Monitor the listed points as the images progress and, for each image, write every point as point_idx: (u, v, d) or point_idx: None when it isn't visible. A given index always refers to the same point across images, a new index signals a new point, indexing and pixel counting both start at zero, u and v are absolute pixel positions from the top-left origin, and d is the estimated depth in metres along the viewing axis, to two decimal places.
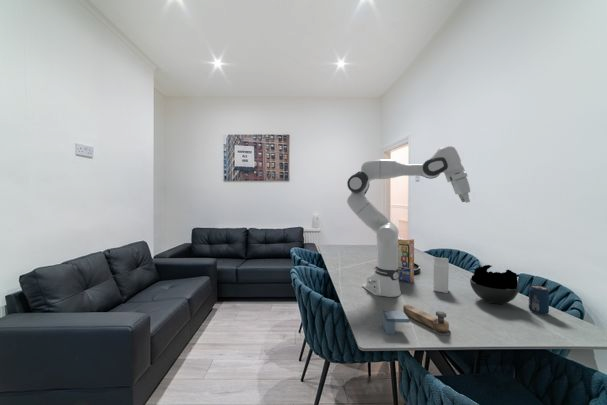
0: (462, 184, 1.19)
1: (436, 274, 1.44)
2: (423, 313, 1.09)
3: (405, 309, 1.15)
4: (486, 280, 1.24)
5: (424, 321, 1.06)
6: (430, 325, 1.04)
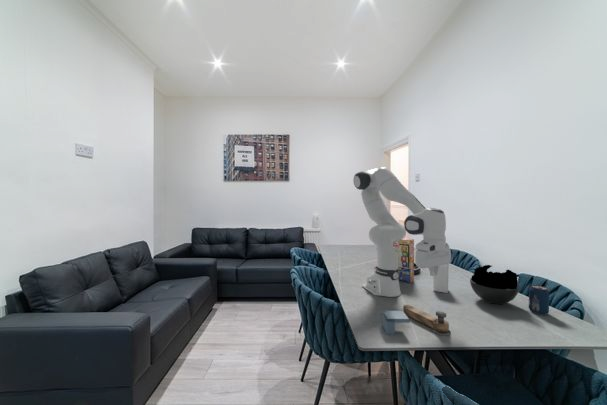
0: (418, 257, 1.08)
1: None
2: (423, 313, 1.09)
3: (405, 309, 1.15)
4: (486, 280, 1.24)
5: (424, 321, 1.06)
6: (430, 325, 1.04)
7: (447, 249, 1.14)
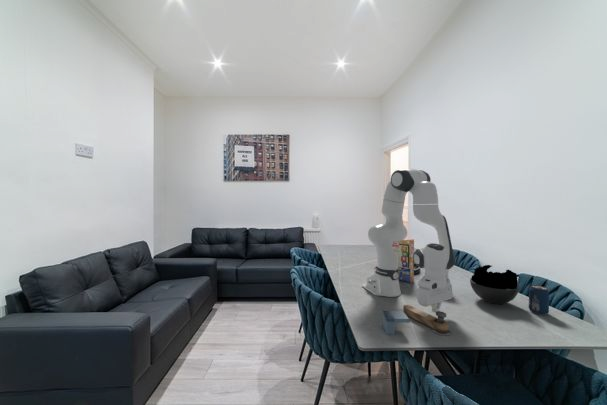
0: (420, 295, 1.08)
1: None
2: (423, 313, 1.09)
3: (405, 309, 1.15)
4: (486, 280, 1.24)
5: (424, 321, 1.06)
6: (430, 325, 1.04)
7: (448, 285, 1.14)
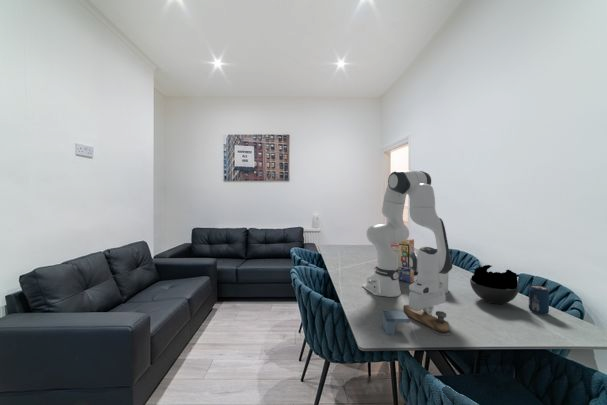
0: (411, 299, 1.07)
1: None
2: (423, 313, 1.09)
3: (405, 309, 1.15)
4: (486, 280, 1.24)
5: (424, 321, 1.06)
6: (430, 325, 1.04)
7: (441, 289, 1.12)
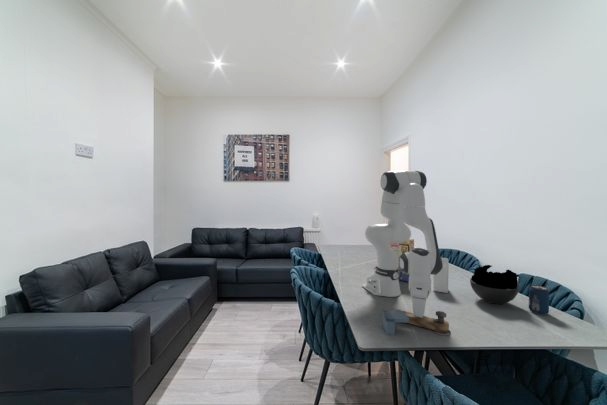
0: (417, 306, 1.00)
1: (436, 274, 1.44)
2: None
3: None
4: (486, 280, 1.24)
5: (423, 324, 1.03)
6: (430, 328, 1.02)
7: None
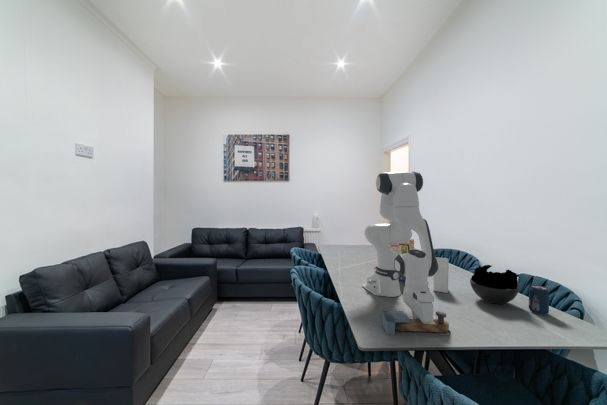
0: (426, 312, 0.96)
1: (436, 274, 1.44)
2: (419, 321, 1.03)
3: (403, 324, 1.01)
4: (486, 280, 1.24)
5: (427, 328, 1.00)
6: (434, 330, 1.00)
7: None
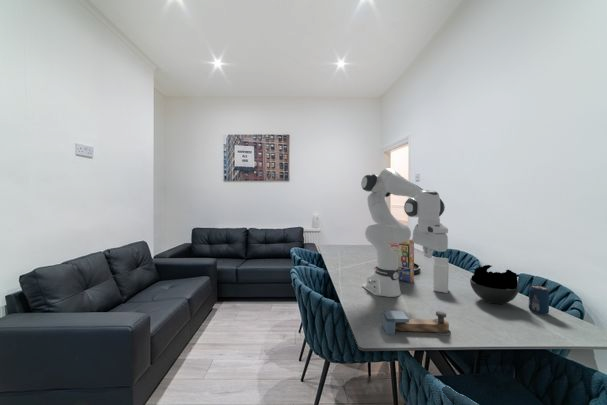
0: (442, 241, 1.03)
1: (436, 274, 1.44)
2: (419, 321, 1.03)
3: (403, 324, 1.01)
4: (486, 280, 1.24)
5: (427, 328, 1.00)
6: (434, 330, 1.00)
7: None
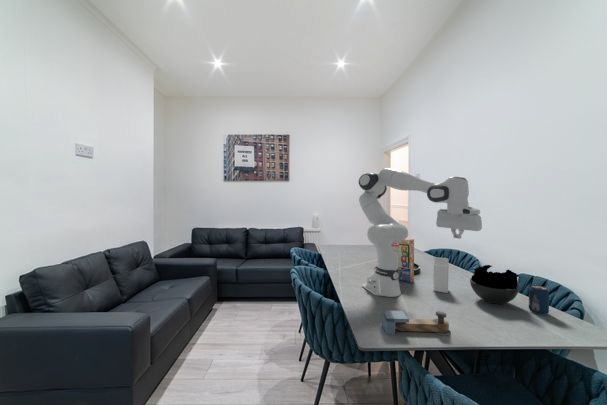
0: (478, 221, 1.13)
1: (436, 274, 1.44)
2: (419, 321, 1.03)
3: (403, 324, 1.01)
4: (486, 280, 1.24)
5: (427, 328, 1.00)
6: (434, 330, 1.00)
7: None
